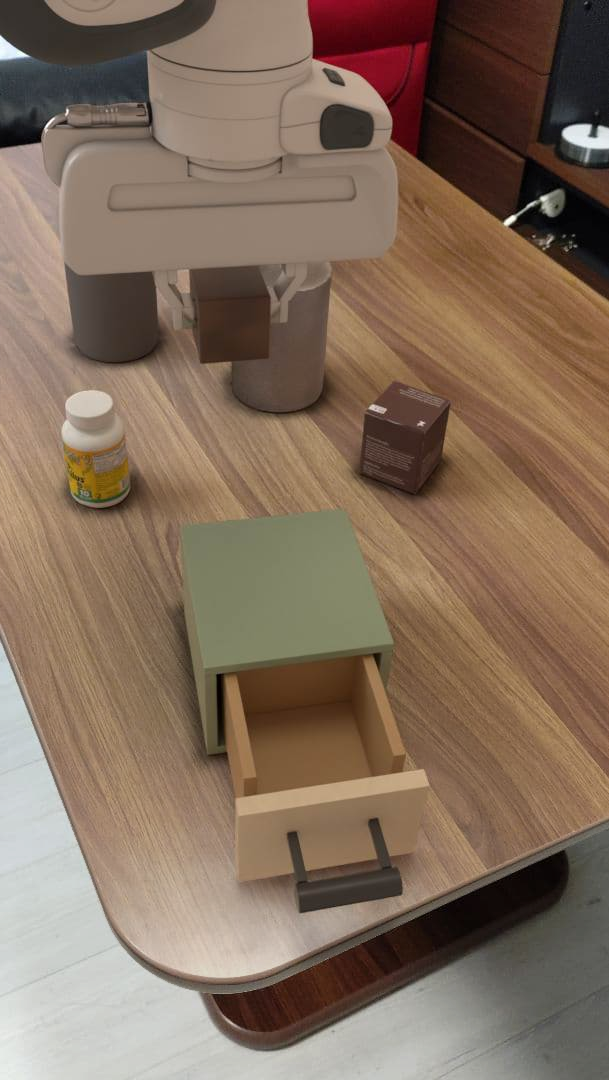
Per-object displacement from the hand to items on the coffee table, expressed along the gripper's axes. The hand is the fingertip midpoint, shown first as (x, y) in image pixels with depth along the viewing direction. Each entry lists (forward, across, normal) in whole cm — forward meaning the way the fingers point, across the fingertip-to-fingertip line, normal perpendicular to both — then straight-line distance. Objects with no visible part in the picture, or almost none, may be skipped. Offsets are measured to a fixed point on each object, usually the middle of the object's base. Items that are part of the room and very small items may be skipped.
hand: (230, 322), depth 63 cm
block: (+2, 0, 0) cm, 2 cm away
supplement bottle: (+25, -10, +14) cm, 30 cm away
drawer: (+24, +2, -22) cm, 33 cm away
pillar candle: (+25, +10, +28) cm, 39 cm away
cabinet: (+25, +2, -9) cm, 27 cm away
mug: (+25, -5, +41) cm, 48 cm away
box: (+25, +18, +13) cm, 34 cm away
